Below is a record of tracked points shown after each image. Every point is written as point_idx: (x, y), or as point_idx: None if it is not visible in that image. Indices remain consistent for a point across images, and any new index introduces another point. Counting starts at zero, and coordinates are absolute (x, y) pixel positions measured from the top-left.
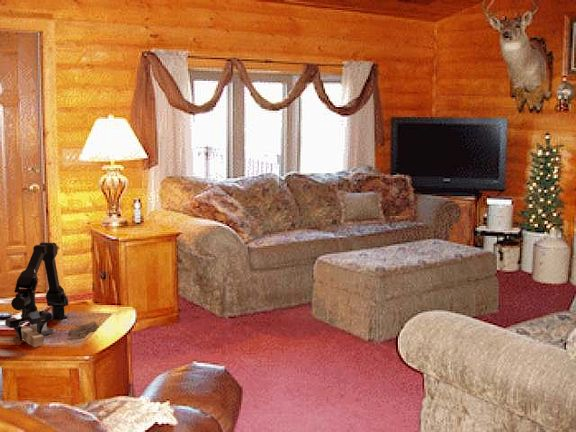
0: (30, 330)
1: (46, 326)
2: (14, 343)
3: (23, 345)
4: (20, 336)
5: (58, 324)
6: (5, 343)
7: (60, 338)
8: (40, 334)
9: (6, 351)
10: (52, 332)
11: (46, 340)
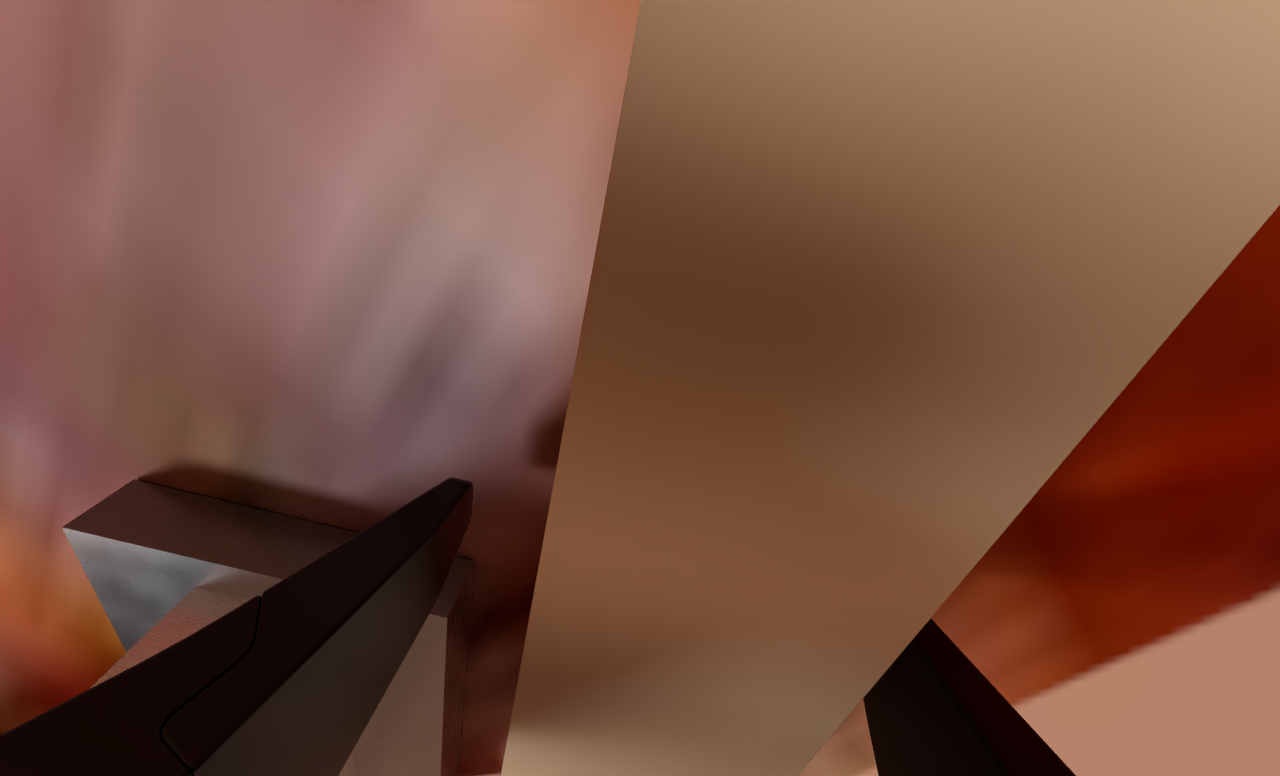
0: (589, 749)
1: (108, 674)
2: (950, 607)
3: None
4: (978, 688)
5: (3, 657)
6: (1009, 697)
7: (16, 38)
8: (650, 121)
9: None
10: (133, 494)
11: (409, 237)
